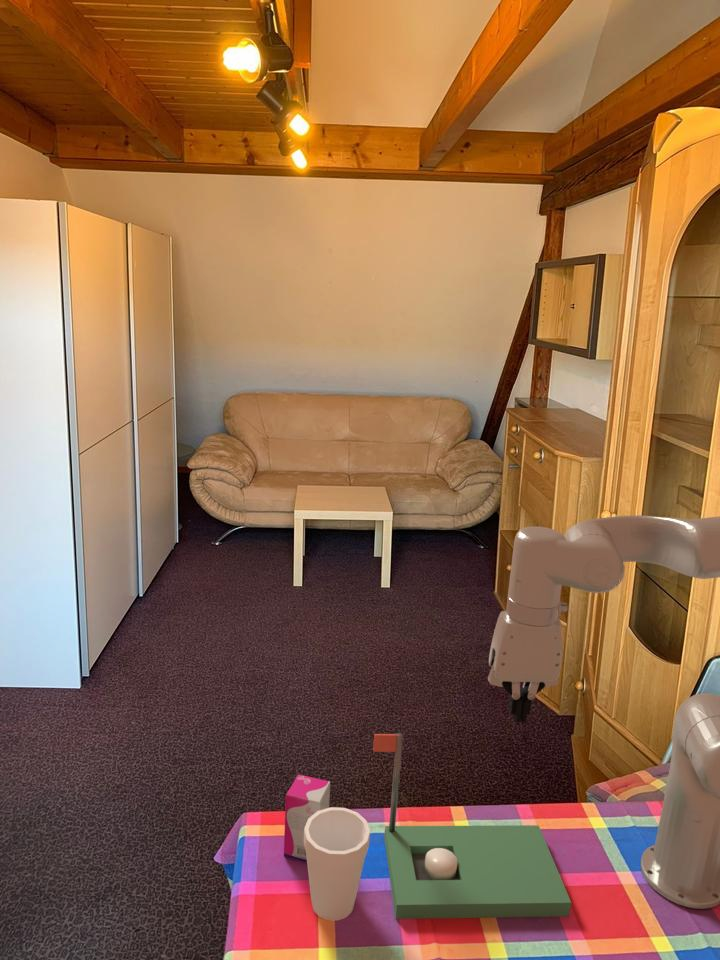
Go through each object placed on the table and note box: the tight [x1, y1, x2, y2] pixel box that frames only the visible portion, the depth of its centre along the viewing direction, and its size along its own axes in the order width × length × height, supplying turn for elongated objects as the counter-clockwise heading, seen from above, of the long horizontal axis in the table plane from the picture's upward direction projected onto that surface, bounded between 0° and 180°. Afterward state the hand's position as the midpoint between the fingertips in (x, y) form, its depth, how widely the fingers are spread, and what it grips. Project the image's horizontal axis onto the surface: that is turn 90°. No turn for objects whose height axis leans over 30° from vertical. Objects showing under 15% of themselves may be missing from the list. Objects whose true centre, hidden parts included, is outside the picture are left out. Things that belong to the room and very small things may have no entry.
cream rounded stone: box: [424, 848, 458, 880], centre depth 117 cm, size 5×5×2 cm
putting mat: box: [372, 732, 572, 920], centre depth 115 cm, size 29×16×20 cm, turn 94°
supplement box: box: [283, 774, 331, 863], centre depth 120 cm, size 6×6×12 cm
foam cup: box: [304, 806, 371, 922], centre depth 110 cm, size 10×9×13 cm
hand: (518, 717), depth 117 cm, fingers closed
